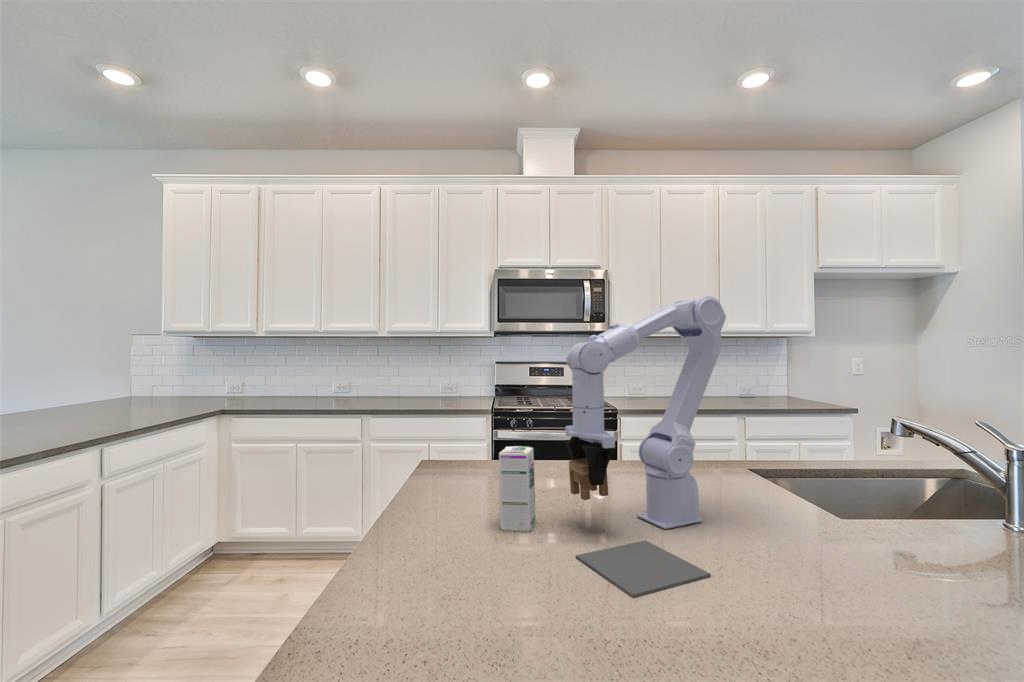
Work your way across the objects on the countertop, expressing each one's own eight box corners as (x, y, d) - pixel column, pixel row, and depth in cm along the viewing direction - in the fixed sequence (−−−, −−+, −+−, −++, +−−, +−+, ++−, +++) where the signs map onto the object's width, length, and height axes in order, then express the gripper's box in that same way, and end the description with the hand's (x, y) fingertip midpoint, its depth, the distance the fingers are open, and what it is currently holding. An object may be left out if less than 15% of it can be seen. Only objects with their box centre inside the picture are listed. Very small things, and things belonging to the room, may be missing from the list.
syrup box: (530, 532, 87) (530, 452, 88) (499, 530, 89) (498, 451, 89) (535, 521, 93) (534, 446, 93) (505, 520, 94) (505, 445, 95)
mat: (645, 542, 82) (645, 540, 82) (710, 576, 69) (710, 573, 69) (575, 557, 76) (575, 555, 76) (632, 597, 64) (632, 594, 64)
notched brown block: (594, 488, 92) (591, 456, 92) (608, 495, 87) (606, 462, 87) (570, 492, 90) (568, 460, 90) (584, 500, 85) (582, 466, 85)
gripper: (551, 404, 94) (552, 474, 94) (589, 412, 81) (590, 493, 80) (583, 402, 97) (584, 470, 96) (624, 410, 83) (626, 489, 83)
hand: (589, 481), depth 89 cm, fingers closed on notched brown block, 5 cm apart
